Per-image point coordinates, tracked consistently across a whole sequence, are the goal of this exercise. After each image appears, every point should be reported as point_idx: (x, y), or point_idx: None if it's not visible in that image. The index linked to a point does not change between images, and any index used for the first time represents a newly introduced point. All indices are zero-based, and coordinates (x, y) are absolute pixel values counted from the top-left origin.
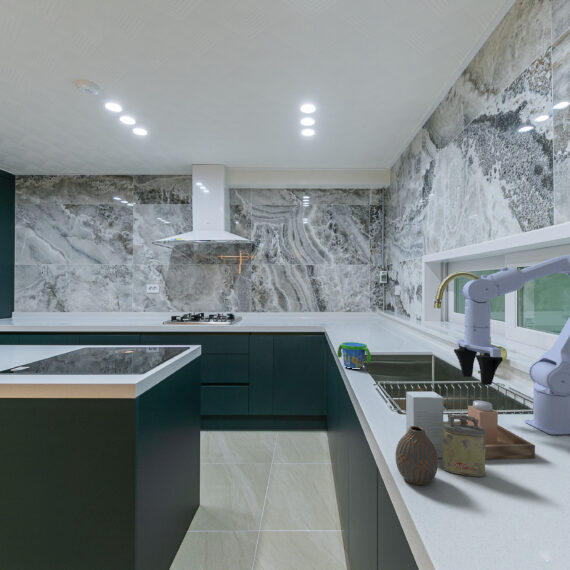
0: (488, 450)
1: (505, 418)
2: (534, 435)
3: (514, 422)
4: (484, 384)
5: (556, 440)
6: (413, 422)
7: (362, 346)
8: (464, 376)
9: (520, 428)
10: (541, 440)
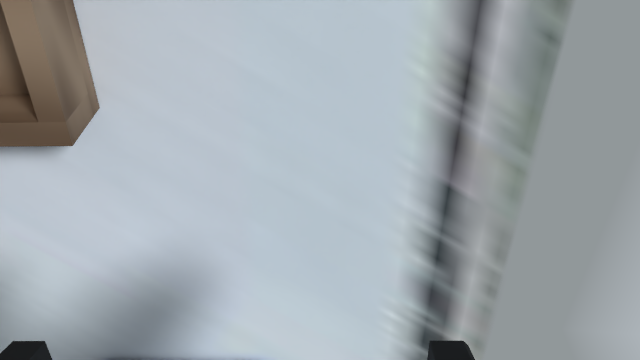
0: None
1: (336, 315)
2: (85, 299)
3: (272, 320)
4: (3, 351)
5: None
6: None
7: None
8: (430, 345)
9: (180, 296)
10: (18, 289)
